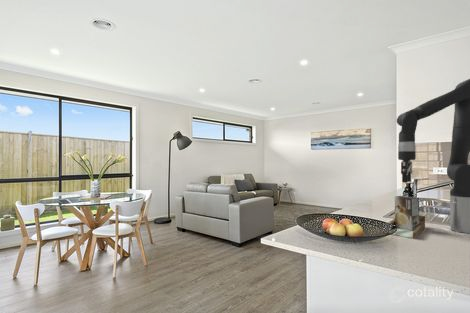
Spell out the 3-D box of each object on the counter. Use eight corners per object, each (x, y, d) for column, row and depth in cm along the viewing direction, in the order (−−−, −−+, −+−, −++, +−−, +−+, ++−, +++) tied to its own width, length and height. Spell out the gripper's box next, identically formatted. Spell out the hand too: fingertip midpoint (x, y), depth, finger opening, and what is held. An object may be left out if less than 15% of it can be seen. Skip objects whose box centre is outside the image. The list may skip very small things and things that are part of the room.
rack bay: (425, 227, 133) (425, 215, 133) (416, 239, 113) (416, 225, 113) (395, 223, 142) (395, 212, 142) (382, 233, 122) (382, 220, 122)
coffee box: (420, 229, 129) (420, 197, 129) (412, 231, 126) (412, 198, 126) (401, 225, 137) (401, 195, 137) (394, 226, 134) (394, 196, 134)
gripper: (412, 150, 124) (413, 183, 124) (417, 151, 134) (417, 181, 134) (395, 150, 129) (395, 182, 129) (401, 151, 139) (401, 180, 139)
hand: (406, 182), depth 132 cm, fingers open, 8 cm apart
